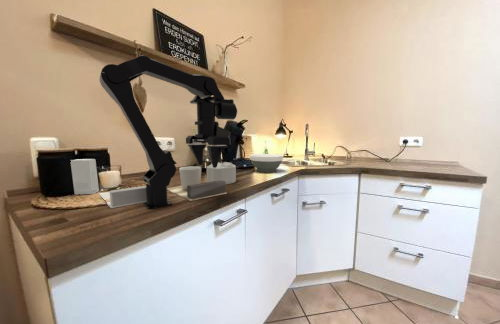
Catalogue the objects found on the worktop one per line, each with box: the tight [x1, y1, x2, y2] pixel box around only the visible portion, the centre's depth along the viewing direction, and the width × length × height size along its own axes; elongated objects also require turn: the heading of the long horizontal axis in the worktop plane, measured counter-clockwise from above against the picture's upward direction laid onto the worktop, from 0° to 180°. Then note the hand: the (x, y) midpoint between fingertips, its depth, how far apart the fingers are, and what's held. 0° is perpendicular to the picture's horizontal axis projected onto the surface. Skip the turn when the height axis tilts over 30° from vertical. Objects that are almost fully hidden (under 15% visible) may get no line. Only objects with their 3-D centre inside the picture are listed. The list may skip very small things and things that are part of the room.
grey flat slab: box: [98, 185, 147, 209], centre depth 74 cm, size 20×14×4 cm
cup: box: [178, 165, 202, 190], centre depth 84 cm, size 11×8×8 cm
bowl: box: [249, 153, 284, 174], centre depth 130 cm, size 20×20×10 cm
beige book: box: [167, 180, 228, 202], centre depth 81 cm, size 20×14×4 cm
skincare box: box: [70, 158, 100, 196], centre depth 78 cm, size 6×4×12 cm
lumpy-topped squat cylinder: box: [206, 161, 237, 185], centre depth 99 cm, size 10×13×9 cm
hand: (207, 166), depth 74 cm, fingers open, 9 cm apart
